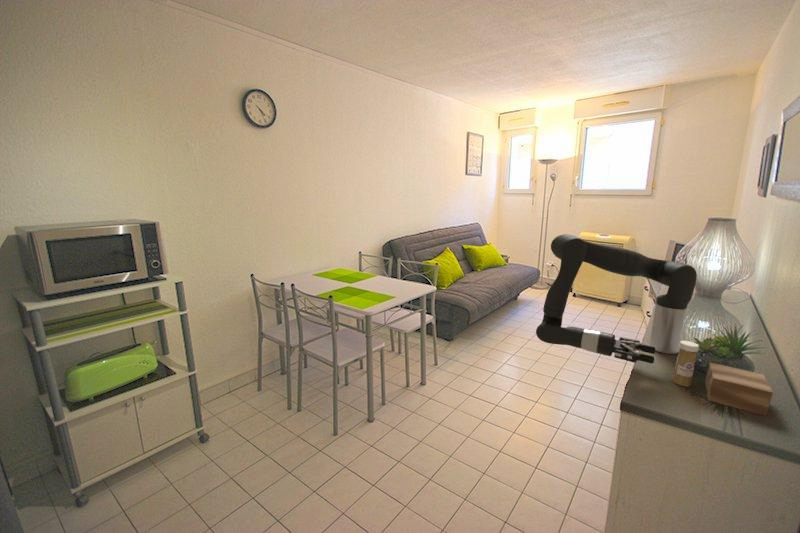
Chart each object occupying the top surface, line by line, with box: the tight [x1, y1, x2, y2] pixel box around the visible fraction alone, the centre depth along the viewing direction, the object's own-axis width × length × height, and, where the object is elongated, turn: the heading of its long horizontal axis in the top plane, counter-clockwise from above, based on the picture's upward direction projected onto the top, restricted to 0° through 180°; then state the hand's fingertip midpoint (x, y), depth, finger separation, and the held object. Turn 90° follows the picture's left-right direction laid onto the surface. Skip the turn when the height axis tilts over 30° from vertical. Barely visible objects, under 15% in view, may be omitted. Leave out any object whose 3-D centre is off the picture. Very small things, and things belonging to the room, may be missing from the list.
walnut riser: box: [704, 362, 774, 417], centre depth 104 cm, size 12×12×7 cm
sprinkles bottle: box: [672, 340, 700, 388], centre depth 111 cm, size 5×5×13 cm
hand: (654, 355), depth 115 cm, fingers open, 8 cm apart
